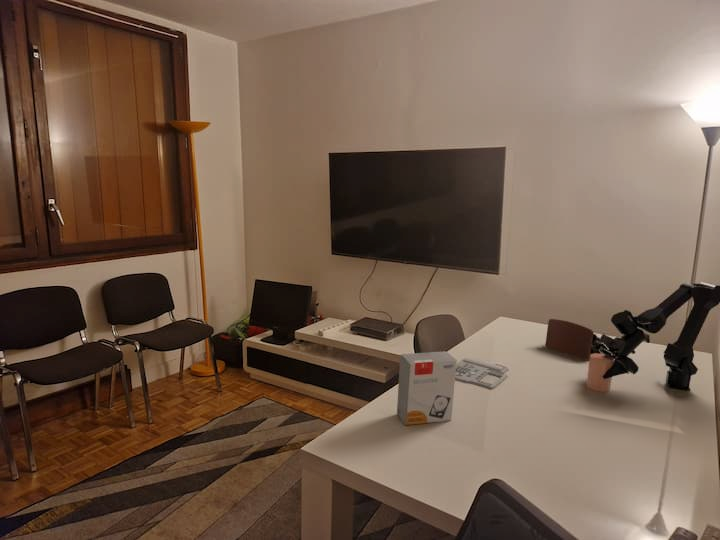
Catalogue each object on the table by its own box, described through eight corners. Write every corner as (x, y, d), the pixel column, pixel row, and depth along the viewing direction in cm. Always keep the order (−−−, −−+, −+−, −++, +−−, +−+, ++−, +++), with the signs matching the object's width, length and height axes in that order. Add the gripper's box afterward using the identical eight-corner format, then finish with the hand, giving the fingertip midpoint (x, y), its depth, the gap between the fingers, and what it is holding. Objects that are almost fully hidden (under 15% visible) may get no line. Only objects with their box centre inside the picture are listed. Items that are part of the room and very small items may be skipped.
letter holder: (588, 361, 196) (593, 328, 193) (544, 347, 211) (547, 316, 208) (600, 356, 202) (604, 324, 199) (556, 342, 217) (559, 313, 214)
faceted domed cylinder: (607, 388, 170) (612, 355, 168) (610, 397, 163) (615, 362, 161) (585, 384, 173) (589, 352, 170) (586, 392, 166) (591, 359, 164)
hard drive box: (404, 426, 140) (408, 363, 136) (396, 414, 148) (398, 353, 144) (452, 420, 145) (457, 359, 141) (441, 408, 152) (445, 350, 148)
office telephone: (467, 353, 195) (515, 365, 184) (467, 359, 196) (515, 372, 184) (441, 369, 177) (492, 384, 165) (440, 376, 178) (492, 391, 166)
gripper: (598, 319, 173) (567, 348, 173) (635, 336, 155) (601, 369, 155) (615, 339, 176) (584, 368, 176) (653, 358, 158) (619, 390, 158)
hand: (596, 373), depth 167 cm, fingers closed on faceted domed cylinder, 7 cm apart
